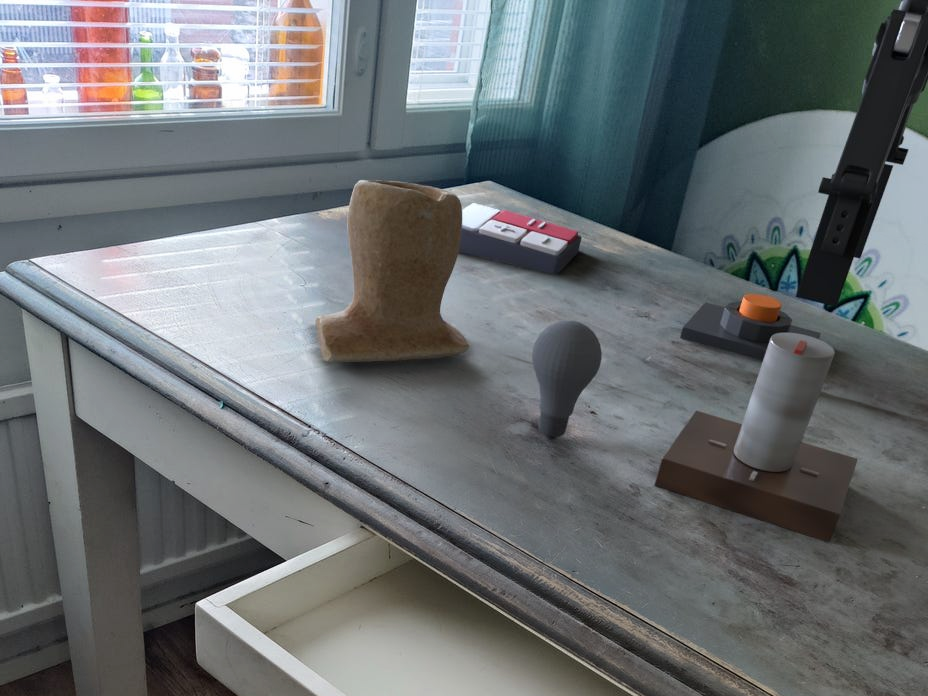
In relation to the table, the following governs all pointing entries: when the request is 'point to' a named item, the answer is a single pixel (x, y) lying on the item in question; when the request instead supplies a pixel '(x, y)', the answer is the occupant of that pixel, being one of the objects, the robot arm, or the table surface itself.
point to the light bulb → (563, 371)
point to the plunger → (760, 307)
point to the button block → (737, 330)
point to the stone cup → (397, 275)
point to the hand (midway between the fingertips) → (830, 276)
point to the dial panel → (757, 478)
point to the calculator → (517, 239)
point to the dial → (783, 401)
